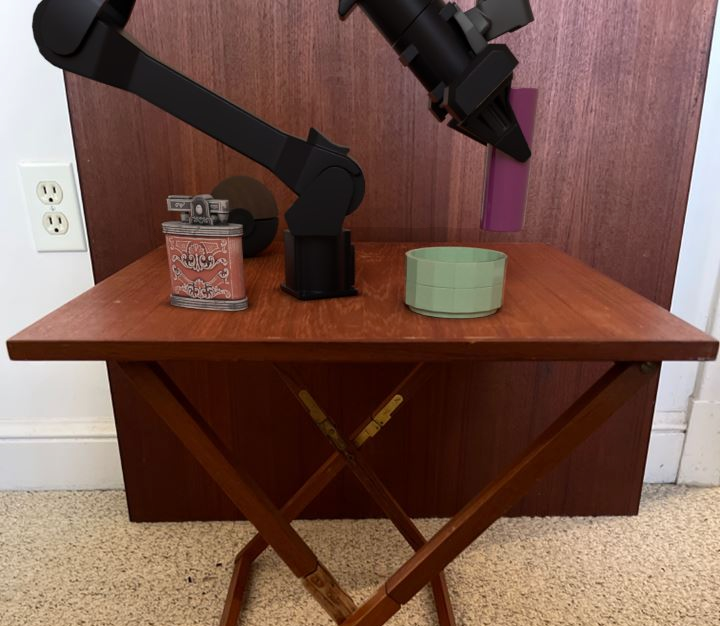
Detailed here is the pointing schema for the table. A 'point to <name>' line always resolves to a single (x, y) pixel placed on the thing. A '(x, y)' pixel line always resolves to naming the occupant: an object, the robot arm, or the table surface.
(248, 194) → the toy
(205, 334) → the table surface
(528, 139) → the purple cylinder rod
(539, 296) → the table surface
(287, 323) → the table surface
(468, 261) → the bowl
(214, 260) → the lighter
